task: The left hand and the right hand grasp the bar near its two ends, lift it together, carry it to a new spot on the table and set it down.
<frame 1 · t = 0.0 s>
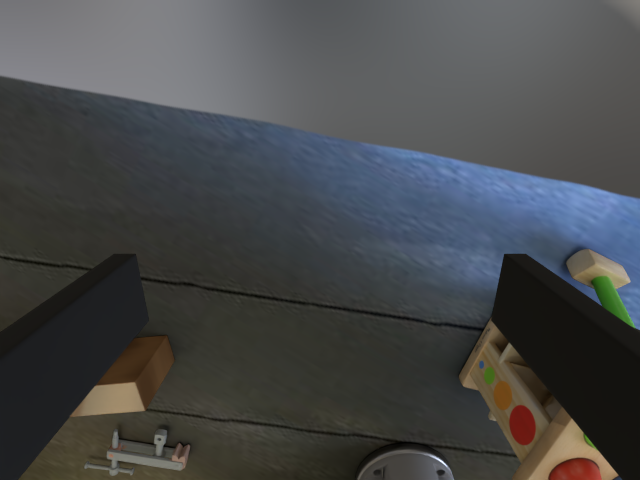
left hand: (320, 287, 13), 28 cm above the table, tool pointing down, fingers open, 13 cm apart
clamp: (140, 444, 53), on the table
pounding bench toy: (541, 324, 46), on the table
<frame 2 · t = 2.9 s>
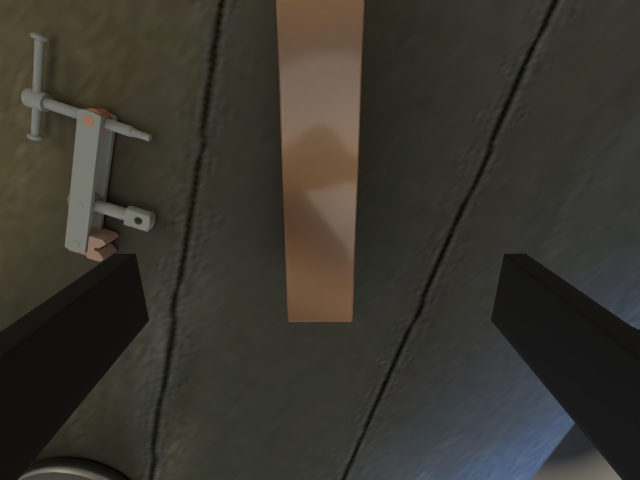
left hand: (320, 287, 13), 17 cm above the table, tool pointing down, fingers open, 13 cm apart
clamp: (103, 160, 27), on the table
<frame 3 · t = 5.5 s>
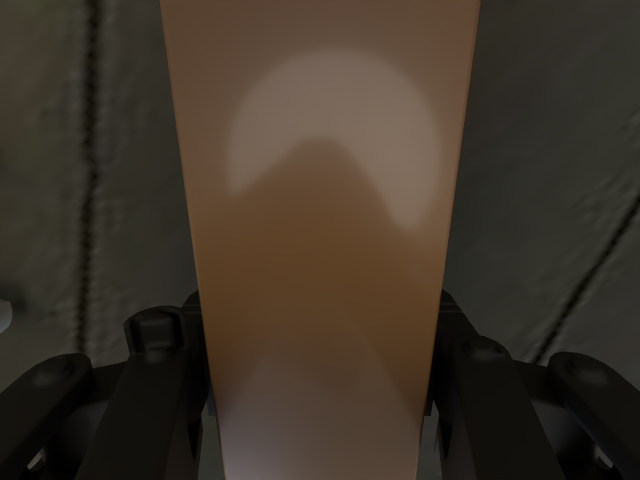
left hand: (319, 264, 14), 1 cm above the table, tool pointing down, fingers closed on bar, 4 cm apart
when the left hand's fingers open (2 cm above the table, at t = 10.9 s): bar drops 1 cm, on the table.
when the right hand's fingers open (5 cm above the table, at t = 11.1 s): bar stays where it is, on the table.
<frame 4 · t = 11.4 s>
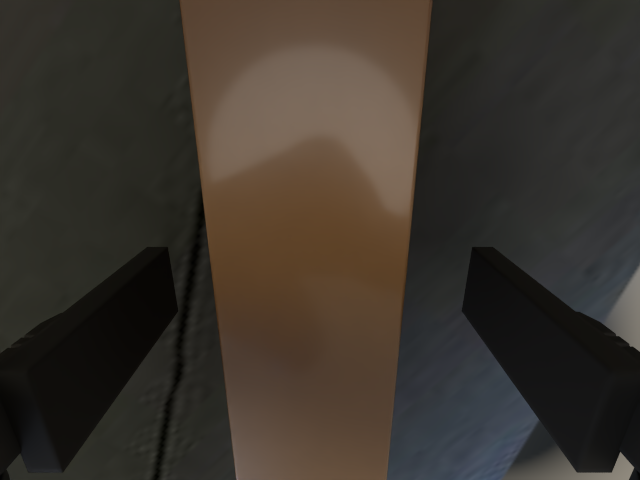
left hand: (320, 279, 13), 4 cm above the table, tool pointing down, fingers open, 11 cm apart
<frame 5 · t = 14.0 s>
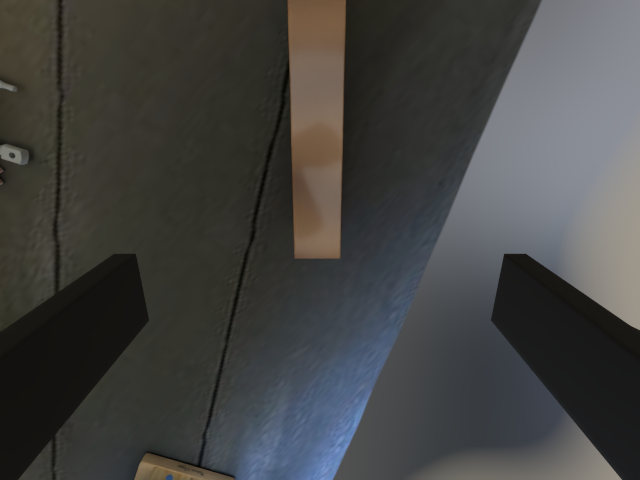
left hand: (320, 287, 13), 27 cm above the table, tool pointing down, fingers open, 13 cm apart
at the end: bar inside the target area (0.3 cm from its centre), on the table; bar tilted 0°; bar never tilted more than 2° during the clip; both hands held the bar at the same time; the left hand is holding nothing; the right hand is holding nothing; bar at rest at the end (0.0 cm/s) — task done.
